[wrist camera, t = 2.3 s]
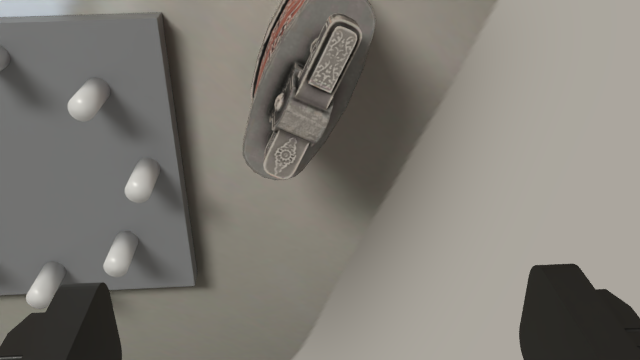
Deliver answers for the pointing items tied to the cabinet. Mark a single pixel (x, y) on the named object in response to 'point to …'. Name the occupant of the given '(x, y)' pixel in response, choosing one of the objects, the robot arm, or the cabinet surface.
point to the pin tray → (89, 157)
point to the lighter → (304, 81)
